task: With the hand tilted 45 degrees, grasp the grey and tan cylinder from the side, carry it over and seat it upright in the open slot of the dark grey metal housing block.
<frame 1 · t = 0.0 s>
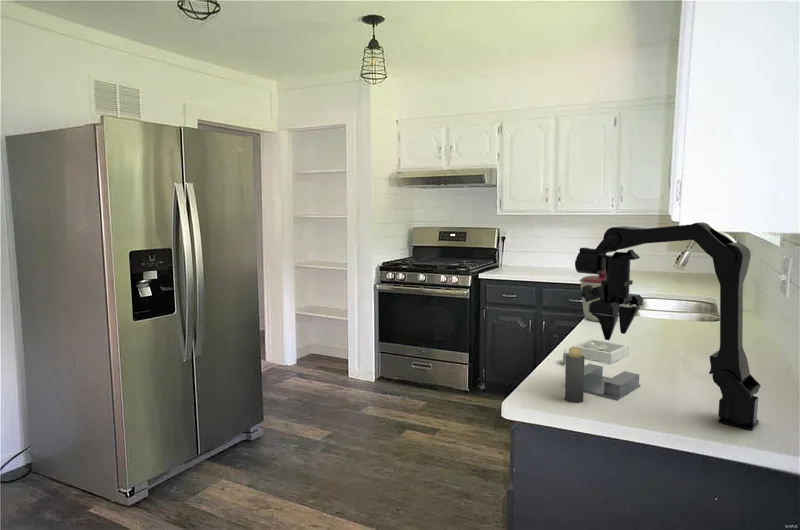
hand: (615, 336, 138), 15 cm above the counter, tool pointing down, fingers open, 9 cm apart
pipe fitting: (599, 356, 174), resting in parts tray
grey and tan cylinder: (573, 399, 135), on the counter
canister: (600, 320, 227), on the counter
parts tray: (600, 355, 174), on the counter
usb wall charger: (569, 365, 164), on the counter
housing: (603, 386, 144), on the counter
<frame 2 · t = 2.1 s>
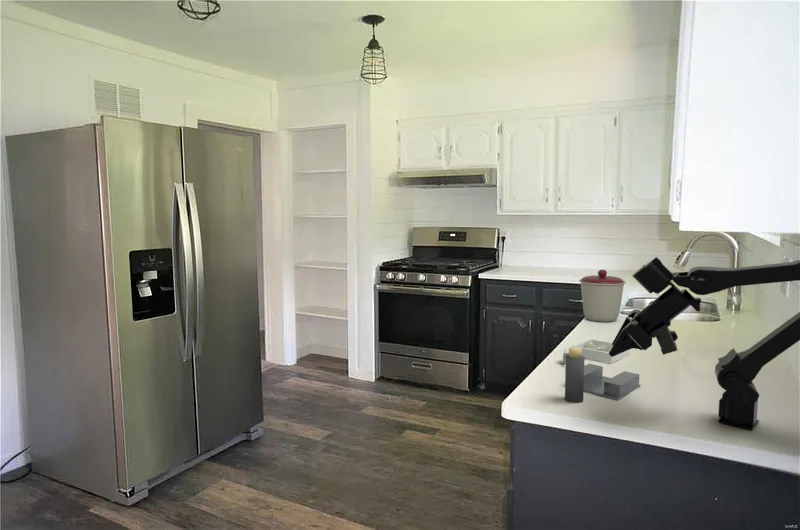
hand: (611, 350, 130), 14 cm above the counter, tool tilted 45°, fingers open, 9 cm apart
nothing on the counter moved.
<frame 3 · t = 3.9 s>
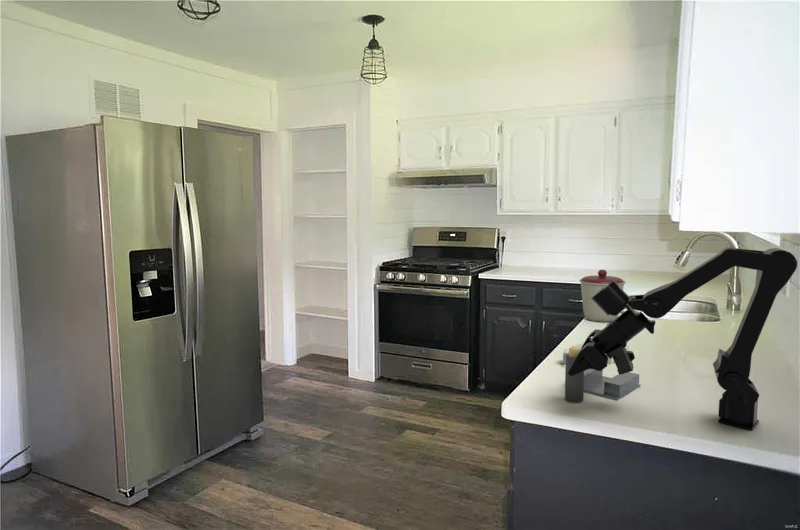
hand: (572, 369, 135), 8 cm above the counter, tool tilted 45°, fingers open, 9 cm apart
pipe fitting: (599, 356, 174), resting in parts tray
everything else where it was.
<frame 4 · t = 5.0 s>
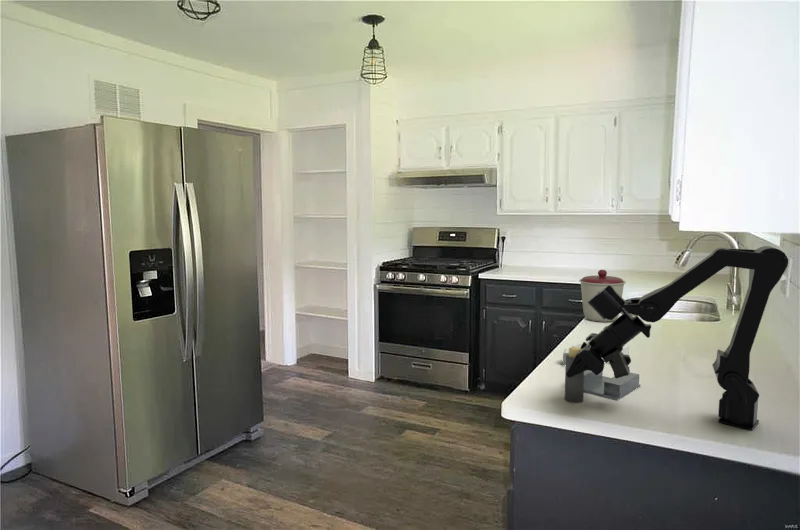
hand: (568, 373, 135), 7 cm above the counter, tool tilted 45°, fingers closed on grey and tan cylinder, 4 cm apart
grey and tan cylinder: (573, 399, 135), on the counter, touching gripper
everything else where it was.
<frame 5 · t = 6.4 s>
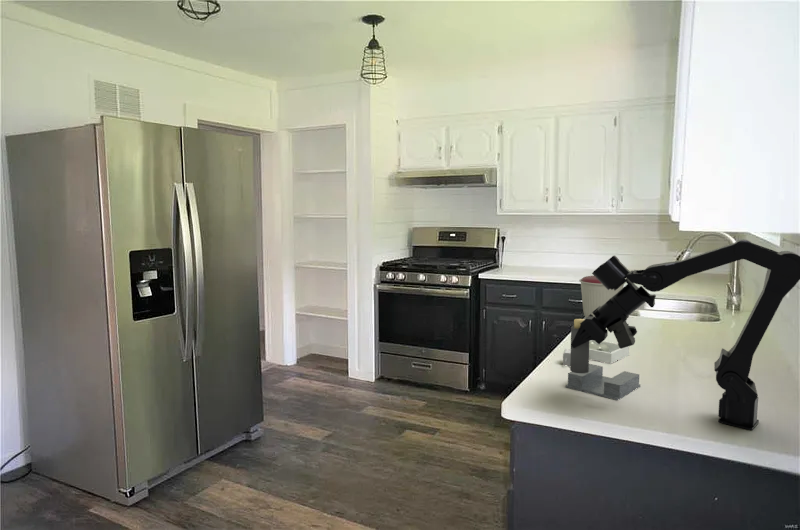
hand: (574, 344, 136), 13 cm above the counter, tool tilted 45°, fingers closed on grey and tan cylinder, 4 cm apart
pipe fitting: (599, 356, 174), resting in parts tray
grey and tan cylinder: (579, 370, 136), point 7 cm above the counter, touching gripper
everything else where it was.
when the fingers open (8 cm above the counter, at t = 8.8 s): grey and tan cylinder stays where it is, resting on housing.
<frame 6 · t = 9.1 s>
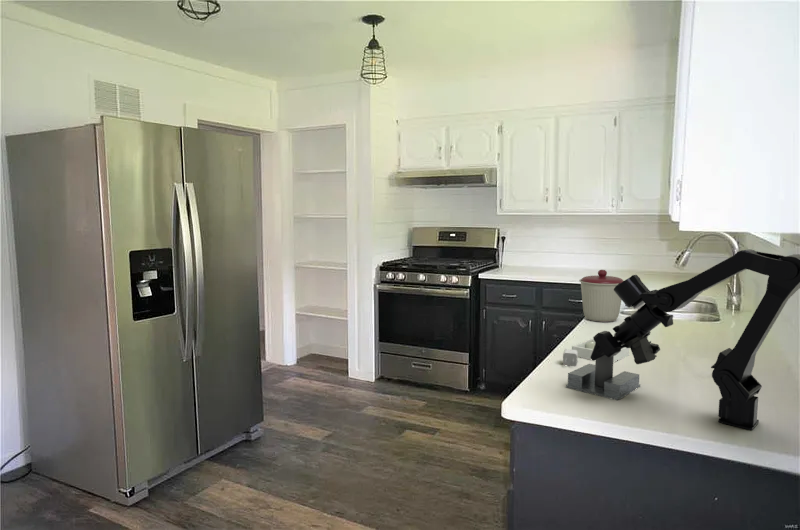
hand: (599, 356, 144), 8 cm above the counter, tool tilted 45°, fingers open, 7 cm apart
grey and tan cylinder: (603, 384, 144), point 1 cm above the counter, touching housing
everything else where it was.
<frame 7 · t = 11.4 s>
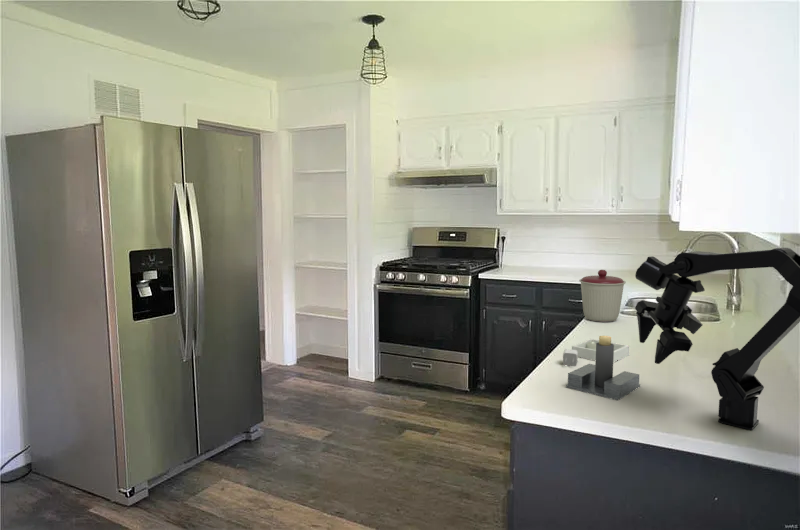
hand: (649, 352, 137), 11 cm above the counter, tool tilted 20°, fingers open, 9 cm apart
nothing on the counter moved.
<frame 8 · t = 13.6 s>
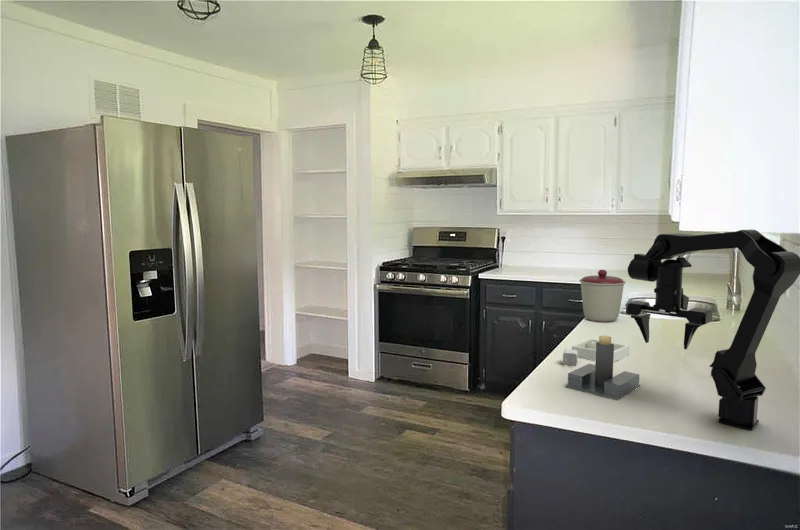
hand: (665, 345, 136), 13 cm above the counter, tool pointing down, fingers open, 9 cm apart
nothing on the counter moved.
at the end: grey and tan cylinder 0.1 cm from the housing (horizontally); grey and tan cylinder tilted 1°; grey and tan cylinder point 0.6 cm above the counter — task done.
